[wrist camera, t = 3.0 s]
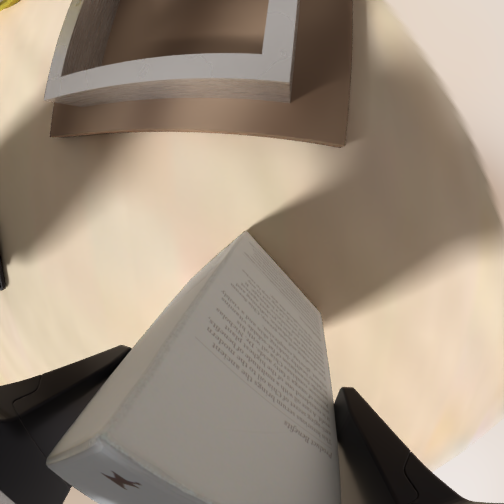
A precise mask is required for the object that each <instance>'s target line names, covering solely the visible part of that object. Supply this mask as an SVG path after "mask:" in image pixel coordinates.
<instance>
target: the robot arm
mask: <svg viewBox="0 0 504 504" xmlns="http://www.w3.org/2000/svg"><path fill="white" fill-rule="evenodd" d="M5 287H6V286H5V281H4V275H3V269H2V263H1V257H0V290H4V289H5ZM131 349H132V348H130V347H127V346H124V345H120V346H117V347H115V348H112V349H109V350H107V351H104V352H102V353H99V354H96V355H94V356H91V357H88V358H86V359H83V360H80V361H78V362H75V363H72V364H69V365H67V366H64V367H61V368H58V369H55V370H53V371H50V372H47V373H44V374H42V375H38V376H35V377H32V378H29V379H26V380H23V381H19V382H15V383H11V384H7V385H3V386H0V504H63V502H64V500H65V498H66V496H67V495H68V493H69V491H70V488H71V487H72V485H70V484H69V483H67V482H66V481H65V480H63V479H62V478H61V477H60V476H58V475H57V474H56V473H55V472H53V471H52V470H51V469H50V468H48V466H47V465H46V460H47V458H48V456H49V455H50V453H51V452H52V450H53V449H54V448H55V446H56V445H57V444H58V442H59V441H60V440H61V438H62V437H63V436H64V434H65V433H66V432H67V430H68V429H69V428H70V427H71V425H72V424H73V423H74V422H75V420H76V419H77V418H78V416H79V415H80V414H81V412H82V411H83V410H84V408H85V407H86V406H87V404H88V403H89V402H90V401H91V399H92V398H93V397H94V395H95V394H96V393H97V392H98V390H99V389H100V388H101V387H102V385H103V384H104V383H105V382H106V380H107V379H108V378H109V377H110V375H111V374H112V373H113V372H114V370H115V369H116V368H117V367H118V365H119V364H120V363H121V362H122V360H123V359H124V358H125V357H126V356H127V354H128V353H129V352H130V351H131ZM334 412H335V421H336V433H337V443H338V455H339V467H340V483H341V503H342V504H504V503H484V502H473V501H469V500H467V499H465V498H463V497H461V496H460V495H458V494H457V493H456V492H455V491H453V490H452V489H451V488H450V487H449V486H447V485H446V484H445V483H444V482H443V481H441V480H440V479H439V478H438V477H437V476H435V475H434V474H433V473H432V472H431V471H430V470H429V469H428V468H427V467H426V466H425V465H424V464H423V463H422V462H421V461H420V460H419V459H418V458H417V457H416V456H415V455H414V454H413V453H412V452H410V450H409V449H408V447H407V446H406V445H405V444H404V443H403V442H402V441H401V440H400V439H399V438H398V436H397V435H396V434H395V433H394V432H393V431H392V430H391V429H390V428H389V427H388V425H387V424H386V423H385V422H384V421H383V420H382V419H381V418H380V417H379V415H378V414H377V413H376V412H375V411H374V410H373V409H372V408H371V407H370V405H369V404H368V403H367V402H366V401H365V400H364V399H363V398H362V396H361V395H360V394H359V393H358V392H357V391H356V390H355V389H354V388H352V387H342V388H341V389H340V391H339V393H338V396H337V398H336V400H335V403H334Z"/></svg>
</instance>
